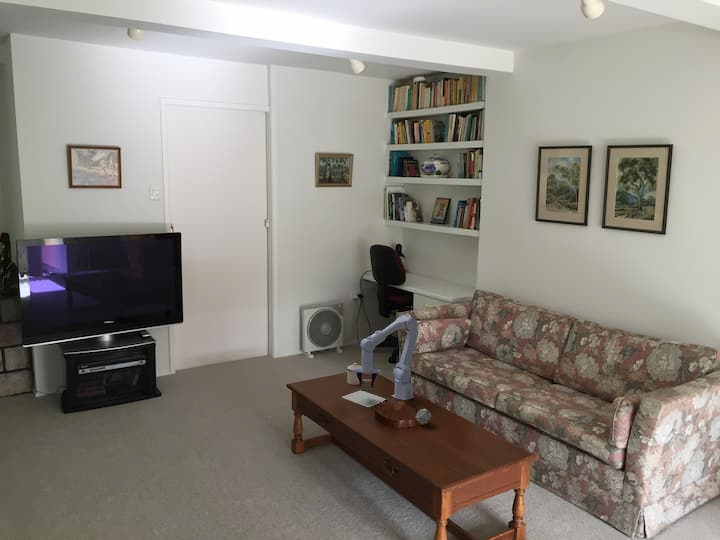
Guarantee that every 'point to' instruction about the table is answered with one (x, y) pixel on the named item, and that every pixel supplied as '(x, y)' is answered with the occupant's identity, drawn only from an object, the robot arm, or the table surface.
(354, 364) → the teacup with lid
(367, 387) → the brown rectangular block
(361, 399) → the grey mat
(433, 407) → the table surface
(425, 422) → the grey rock
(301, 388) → the table surface
